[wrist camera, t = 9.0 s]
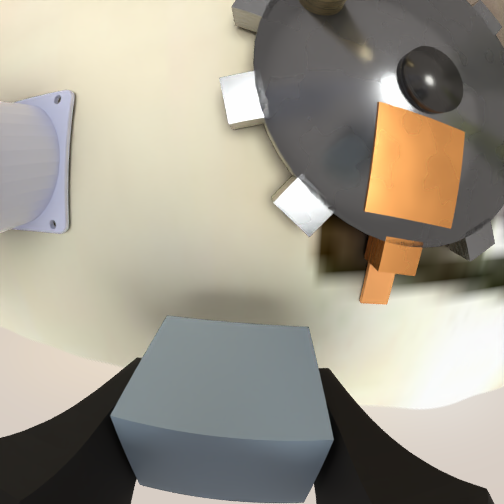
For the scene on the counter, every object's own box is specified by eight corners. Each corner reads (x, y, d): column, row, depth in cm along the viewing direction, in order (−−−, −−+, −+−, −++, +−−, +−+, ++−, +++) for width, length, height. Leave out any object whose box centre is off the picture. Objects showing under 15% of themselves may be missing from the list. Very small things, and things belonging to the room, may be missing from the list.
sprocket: (413, 319, 15) (459, 375, 10) (150, 117, 12) (91, 96, 7) (540, 113, 11) (595, 113, 6) (348, -75, 8) (370, -125, 3)
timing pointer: (359, 300, 15) (361, 303, 15) (368, 262, 15) (370, 264, 14) (385, 302, 15) (386, 304, 15) (394, 264, 15) (396, 266, 14)
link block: (174, 388, 11) (140, 484, 7) (167, 315, 10) (110, 415, 5) (294, 399, 11) (303, 502, 6) (308, 326, 10) (333, 439, 5)
